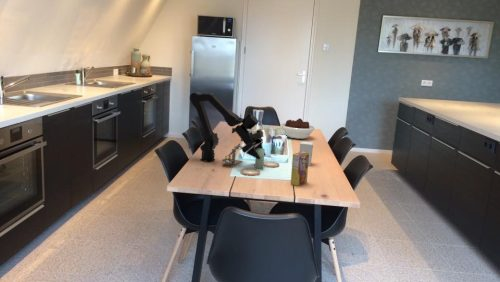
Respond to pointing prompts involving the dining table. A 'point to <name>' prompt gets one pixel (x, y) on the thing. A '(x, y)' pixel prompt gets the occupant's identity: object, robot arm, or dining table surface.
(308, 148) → the supplement box
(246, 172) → the dish
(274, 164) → the dish
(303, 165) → the candy box
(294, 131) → the bowl with brown lumps
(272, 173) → the dining table surface
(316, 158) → the dining table surface
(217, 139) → the robot arm
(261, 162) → the grey green cylinder
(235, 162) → the balance
